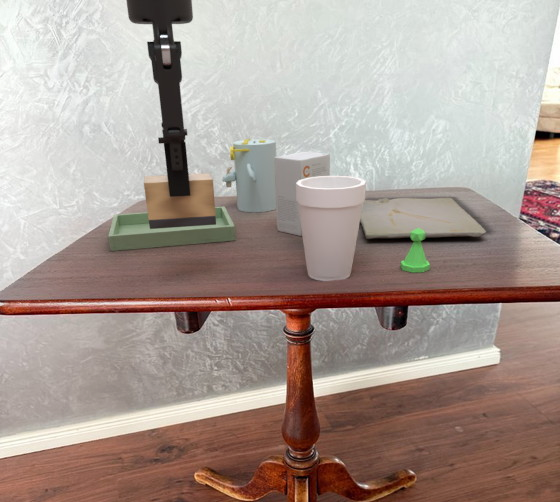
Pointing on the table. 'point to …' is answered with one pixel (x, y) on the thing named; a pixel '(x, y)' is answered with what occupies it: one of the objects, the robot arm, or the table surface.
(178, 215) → the eraser
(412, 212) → the decorative slab
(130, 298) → the table surface
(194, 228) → the tray
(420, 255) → the game piece
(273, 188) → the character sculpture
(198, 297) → the table surface
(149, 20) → the robot arm
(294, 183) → the small box
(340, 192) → the foam cup
